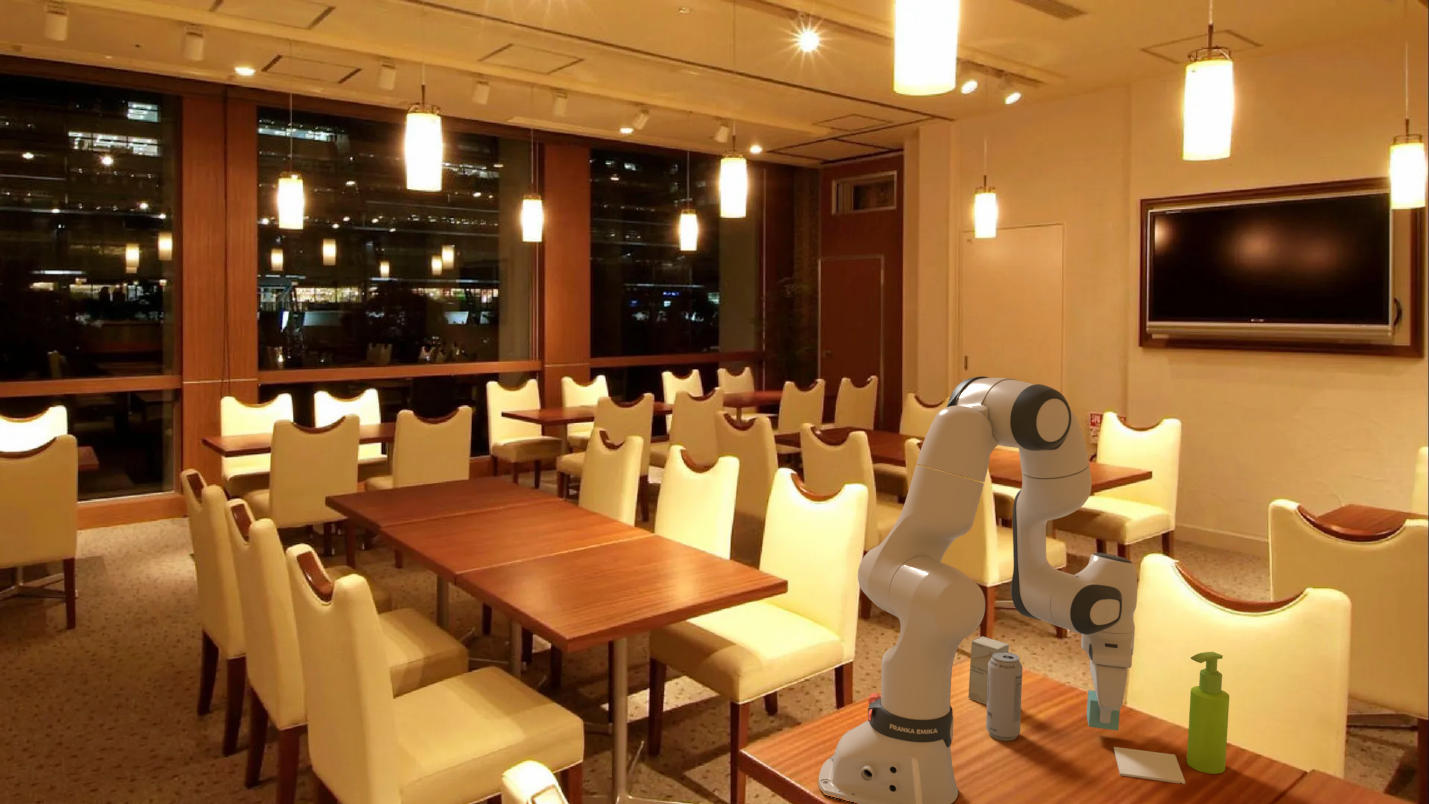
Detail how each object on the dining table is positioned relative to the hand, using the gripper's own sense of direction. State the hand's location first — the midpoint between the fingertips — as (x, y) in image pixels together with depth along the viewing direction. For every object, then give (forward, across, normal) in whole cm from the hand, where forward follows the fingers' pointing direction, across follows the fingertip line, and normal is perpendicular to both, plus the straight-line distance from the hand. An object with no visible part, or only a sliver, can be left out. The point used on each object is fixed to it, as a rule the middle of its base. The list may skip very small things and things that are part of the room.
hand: (1102, 714), depth 174 cm
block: (+2, 0, 0) cm, 2 cm away
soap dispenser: (+4, +7, +16) cm, 18 cm away
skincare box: (+5, -10, -20) cm, 23 cm away
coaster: (+4, +10, +7) cm, 12 cm away
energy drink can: (+5, +4, -17) cm, 19 cm away
